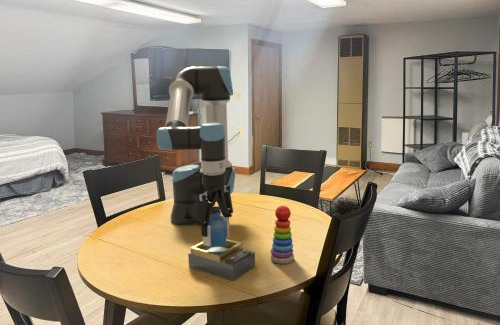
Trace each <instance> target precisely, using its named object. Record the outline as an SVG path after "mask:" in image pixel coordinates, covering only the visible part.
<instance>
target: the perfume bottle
mask: <svg viewBox="0 0 500 325" xmlns="http://www.w3.org/2000/svg"><path fill="white" fill-rule="evenodd" d="M222 216H223V215H222V213H221V211H220V207H219V206H216V205H214V206H213V209H212V213H211V217H210V221H209V225H208V226H210V231H211V246H210V247H226V239H227V237H226V225H225V220H224V219H223V217H222ZM207 247H209V246H207Z"/></svg>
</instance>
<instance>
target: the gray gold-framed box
mask: <svg viewBox="0 0 500 325" xmlns="http://www.w3.org/2000/svg"><path fill="white" fill-rule="evenodd" d="M189 249H190V250H189V252H187V257H188V268H190V269H193V270H197V271H199V272H202V273H206V274H209V275H212V276H216V277H218V278H222V279H224V280H228V281H231V282H235V281H236V280H238V279H239V278H241V276H243V275H245V274H247V273H248V272H249V271H250V270H252V269H253V268H255V267H256V252H255V251H252V250H249V249H245V248H243V243H242V242H239V241H237V240H236V241H235V240H231V239H230V238H229V239H228V238H226V247H207V246H205V245H203V241H201V242H199V243H197V244H195V245H193V246H191V247H190V248H189Z"/></svg>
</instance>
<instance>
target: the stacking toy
mask: <svg viewBox="0 0 500 325" xmlns="http://www.w3.org/2000/svg"><path fill="white" fill-rule="evenodd" d="M291 212H292V211H291V210H290V208H289V207H288V206H286V205H280V206H278V207H276V209H275V211H274V213H275V214H274V215H275V217H276V220H275V222H274V224H275V226H274V227H273V230H274V231H273V238H272V244H271V246H272V248H271V249H270V256H269V257H270V260H271V261H272V262H274V263H276V264H282V265H283V264H285V265H286V264H291V263H292V262H293V261H294V260H295V254H294V249H293V248H294V244H293V238H292V237H293V235H292V229H291V221H290V217H291V215H292V214H291Z"/></svg>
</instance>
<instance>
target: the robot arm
mask: <svg viewBox="0 0 500 325" xmlns="http://www.w3.org/2000/svg"><path fill="white" fill-rule="evenodd" d="M230 70H231V69H229V67H227V66H225V65H224V66H222V65H213V66H212V65H210V66H209V65H208V66H190V67H186V68H184V69H182V70H180V71H179V72H178V73H177V74H176V75H174V77H173V78H172V79H171V81H170V83H169V87H168V94H169V96H170V97H169V101H168V102H169V103H168V108H167V116H166V118H165V119H166V120H165V125H164V126H163V127H159V128H157V130H156V143H157V147H158V149H159V150H161V151H183V150H200V153H201V154H200V156H201V157H200V163H201V164H200V165H199V164H189V165H184V166H179V167H177V168H175V169H174V170H173V172H172V180H171V182H172V191H173V192H172V193H173V204H172V205H173V206H172V209H171V214H170V221H171V223H173V224H176V225H182V226H184V225H185V226H189V225H196V226H197V227H200V228H201V237H202V242H203V245H205V246H209V247H210V246H211V231H210V226H208V225H209V221H210V217H211V213H212V209H213V207H214V206H216V203H217V205H218V207H220V211H221V216H222V217H223V219H224V220H225V225H226V238H228V237H230V218H232V217H233V213H234V208H233V201H232V195H231V194H233V193H234V188H235V182H236V181H235V179H236V168H235V167H233V164H232V162H231V161H230V160H229V148H228V147H229V146H228V144H229V143H228V111H227V110H228V108H227V106H228V105H227V104H228V103H229V102H230V100H231V96H234V89H233V82H232V77H231V75H232V74H231V71H230ZM193 97H201V102H203V103H204V105H205V119H206V120H205V123H202V124H201V125H200V126H189V118H190V108H191V99H193Z"/></svg>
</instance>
